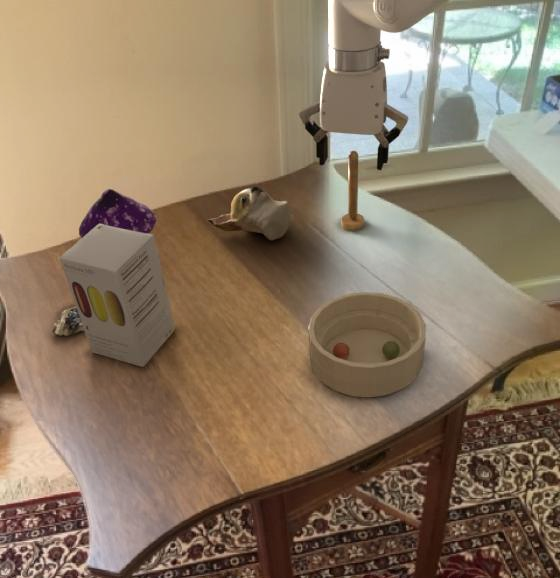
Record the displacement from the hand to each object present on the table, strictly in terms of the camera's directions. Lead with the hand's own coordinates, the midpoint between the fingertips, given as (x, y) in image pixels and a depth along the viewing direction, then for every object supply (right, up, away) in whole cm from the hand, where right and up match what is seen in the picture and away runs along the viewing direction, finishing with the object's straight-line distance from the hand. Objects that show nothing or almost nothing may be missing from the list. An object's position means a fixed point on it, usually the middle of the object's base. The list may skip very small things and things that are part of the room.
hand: (351, 164), depth 109 cm
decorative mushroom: (-37, -17, +2) cm, 41 cm away
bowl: (0, -33, -18) cm, 37 cm away
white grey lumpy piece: (-44, -27, -7) cm, 52 cm away
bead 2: (+3, -32, -19) cm, 37 cm away
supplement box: (-34, -30, -11) cm, 47 cm away
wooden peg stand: (+1, -8, +8) cm, 12 cm away
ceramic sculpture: (-16, -9, +9) cm, 21 cm away
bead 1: (-3, -32, -19) cm, 37 cm away
